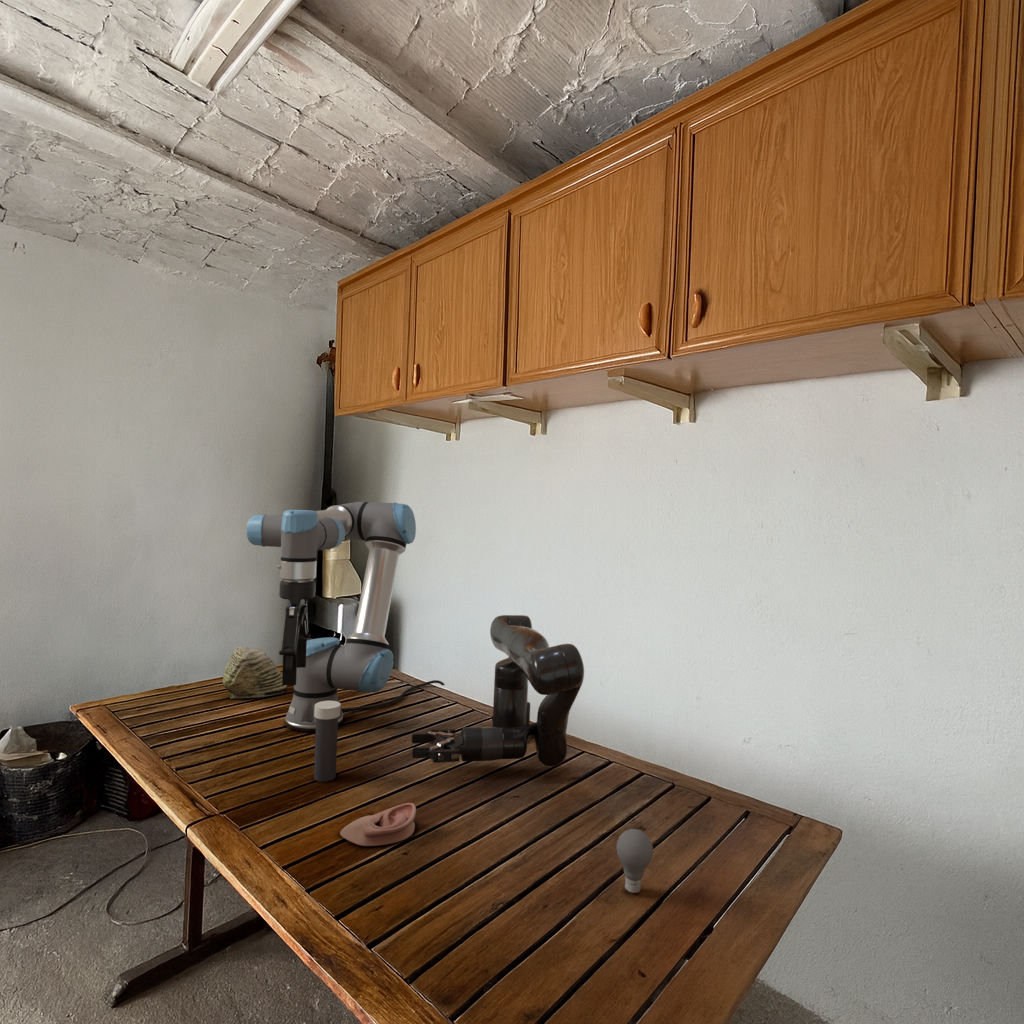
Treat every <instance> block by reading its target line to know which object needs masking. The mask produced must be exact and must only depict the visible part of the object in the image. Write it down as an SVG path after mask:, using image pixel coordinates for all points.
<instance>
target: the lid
mask: <svg viewBox="0 0 1024 1024" xmlns="http://www.w3.org/2000/svg"><path fill="white" fill-rule="evenodd" d="M339 702H340V701H339ZM339 702H337V701H321V702H318V703H316V704H315V711H314V716H315V718H317V719H323V720H327V719H334V718H337V717H339V716H340V707H341V708H342V706H341V702H340V703H339Z"/></svg>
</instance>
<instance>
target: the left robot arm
mask: <svg viewBox="0 0 1024 1024" xmlns="http://www.w3.org/2000/svg"><path fill="white" fill-rule="evenodd" d="M416 534H417V524H416V517H415V513H414V511H413V508H412V507H410V505H408V504H405V503H398V502H378V501H376V502H375V501H354V502H349V503H343V504H337V505H331V506H329V507H327V508H326V509H321V510H309V509H286V510H284V511H283V513H281V514H266V513H265V514H255V515H253V516H251V517H250V518H249V519H248V521H247V524H246V538H247V541H248V542H249V543H250V544H251V545H253V546H258V547H262V548H263V547H264V548H265V547H272V548H274V547H275V548H280V564H278V565H277V569H279V571H280V572H279V573H280V575H279V578H280V579H281V581H280V582H279V590H278V591H279V592H278V594H279V595H278V596H279V598H280V599H282V600H288V601H289V604H288V606H285V617H284V626H283V635H282V644H281V650H279V651H278V652H279V653H278V655H279V656H282V675H283V676H282V685H287V686H293V695H292V696H293V697H292V699H291V702H290V704H289V708H288V711H287V713H286V715H285V726H286V728H287V729H289V730H291V731H294V732H295V731H296V732H301V733H316V718H315V716H314V711H315V704H316V703H318V702H321V701H337V702H339V703H340V704H341V702H340V699H339V695H338V690H347V691H354V692H360V693H377V692H380V691H381V690H382V689H383V688H384V687H385V685H387V684H388V681H389V680H390V677H391V675H392V671H393V668H394V654H393V651H392V650H390V649H389V646H390V644H389V642H388V640H387V639H386V637H385V635H386V632H387V631H386V630H387V626H388V620H389V613H390V608H391V602H392V597H393V591H394V587H395V581H396V575H397V571H398V563H399V558H400V555H402V554H403V553H405V551H406V548H407V545H410V544H413V542H414V540H415V538H416ZM345 539H349V540H356V541H364V542H365V546H366V547H367V549H368V557H367V562H366V567H365V572H364V577H363V581H362V586H361V587H362V589H361V592H360V596H359V597H360V598H359V603H358V607H357V612H356V618H355V624H354V627H353V632H352V633H351V634H350V635H348V636H347V637H346V638H345V639H346V640H345V644H340V643H341V641H340V639H339V638H338V637H334V636H333V637H318V638H313V639H310V638H311V633H309V617H308V615H309V614H308V601H309V600H312V599H313V598H315V596H316V584H317V583H316V581H315V579H316V578H317V562H318V561H317V554H318V553H317V552H318V551H326V550H327V551H330V550H331V549H335V548H338V547H339V546H340V545H341V544H342V543H343V542H344V541H345ZM431 684H439V685H441V686H445V685H446V684H445V683H444V682H443V681H441V680H438V679H437V680H436V679H434V680H428V681H426V682H423V683H419V684H416V685H413V686H411V687H408V688H407V689H406V690H404V691H403V692H401V694H400V695H398V696H396V697H395V698H393V699H391V700H388V701H385V702H381V703H378V704H377V703H376V704H371V705H364V706H362V705H361V706H353V707H343V708H342V706H341V707H340V716H339V717H338V727H339V726H340V725H342V723H343V722H344V713H343V712H354V711H361V710H362V711H363V710H370V709H377V708H382V707H385V706H389V705H392V704H393V703H396V702H397V701H399V700H401V699H402V698H403V697H404V696H405V695H406V694H408V693H409V692H411V691H412V690H415V689H418V688H422V687H425V686H428V685H431Z"/></svg>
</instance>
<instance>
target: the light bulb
mask: <svg viewBox="0 0 1024 1024" xmlns="http://www.w3.org/2000/svg"><path fill="white" fill-rule="evenodd" d="M615 849H616V854H617V857H618V859H619V861H620V863H621V865H622V867H623V873H624V874H623V875H624V876H625V878H624V888H625V890H627V891H628V892H630V893H634V894H635V893H639V892H640V891H641V889H642V887H641V886H642V879H643V877H644V875H645V871H646V868H647V867H648V866H649V864H650V863H651V861H652V859H653V855H654V847H653V843H652V841H651V838H649V836H648V835H647V834H646V833H645V832H643V831H642V830H641V829H636V828H629V829H627V830H625V831H623V832H622V833H621V834H620V835H619V837H618V839H617V841H616V847H615Z"/></svg>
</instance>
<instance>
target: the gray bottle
mask: <svg viewBox="0 0 1024 1024" xmlns="http://www.w3.org/2000/svg"><path fill="white" fill-rule="evenodd" d="M338 729H339V726H338V717H337V718H334V719H327V720H323V719H317V718H316V732H315V738H314V739H315V740H314V760H313V761H314V762H313V763H314V764H313V765H314V766H313V780H314V781H316V782H320V783H326V782H331V781H333V780H334V779H336V777H337V760H338V759H337V758H338V757H337V755H338V733H339V730H338Z"/></svg>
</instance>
